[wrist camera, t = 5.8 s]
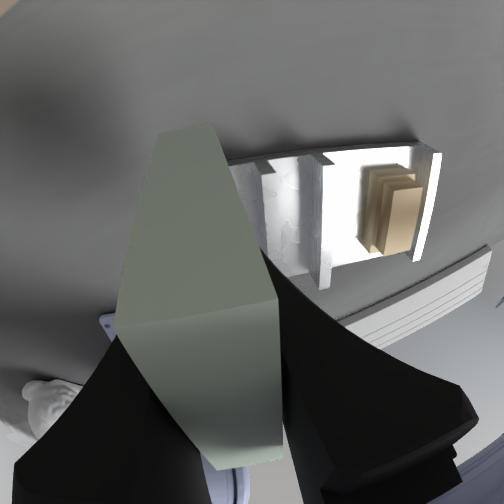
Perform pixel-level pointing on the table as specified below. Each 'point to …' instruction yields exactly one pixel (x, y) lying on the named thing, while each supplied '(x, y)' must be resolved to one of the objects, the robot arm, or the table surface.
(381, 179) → the offcut lower
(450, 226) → the table surface
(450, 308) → the white board
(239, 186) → the rack
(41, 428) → the rabbit
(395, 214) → the offcut upper
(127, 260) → the pale green rectangular block
